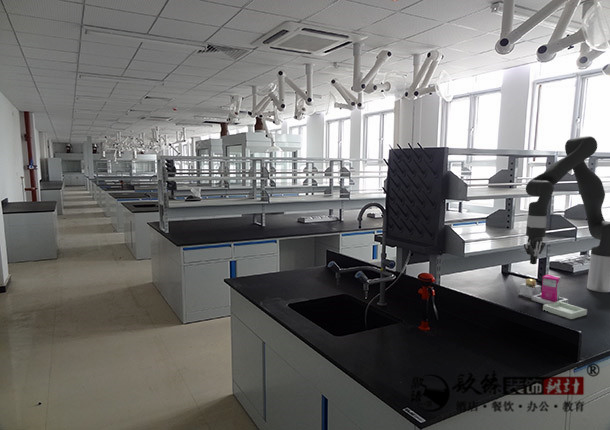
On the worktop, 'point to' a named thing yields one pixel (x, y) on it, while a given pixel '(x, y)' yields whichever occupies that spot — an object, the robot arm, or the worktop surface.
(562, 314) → the tray
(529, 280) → the yellow knob
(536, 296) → the socket block
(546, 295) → the supplement box
